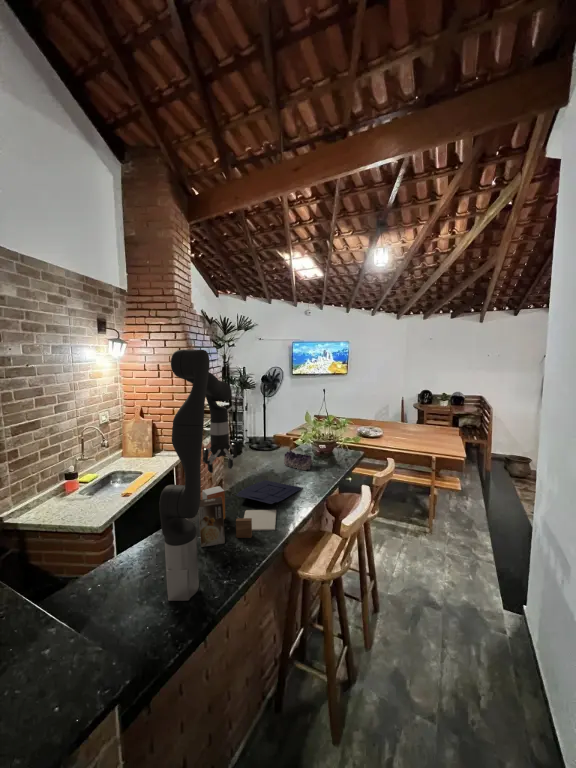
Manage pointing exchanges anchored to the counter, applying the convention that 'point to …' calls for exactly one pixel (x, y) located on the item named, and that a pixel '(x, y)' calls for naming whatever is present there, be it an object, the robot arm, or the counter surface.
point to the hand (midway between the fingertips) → (220, 470)
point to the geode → (298, 460)
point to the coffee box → (211, 522)
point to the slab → (244, 528)
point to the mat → (262, 519)
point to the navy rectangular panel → (268, 491)
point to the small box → (215, 495)
